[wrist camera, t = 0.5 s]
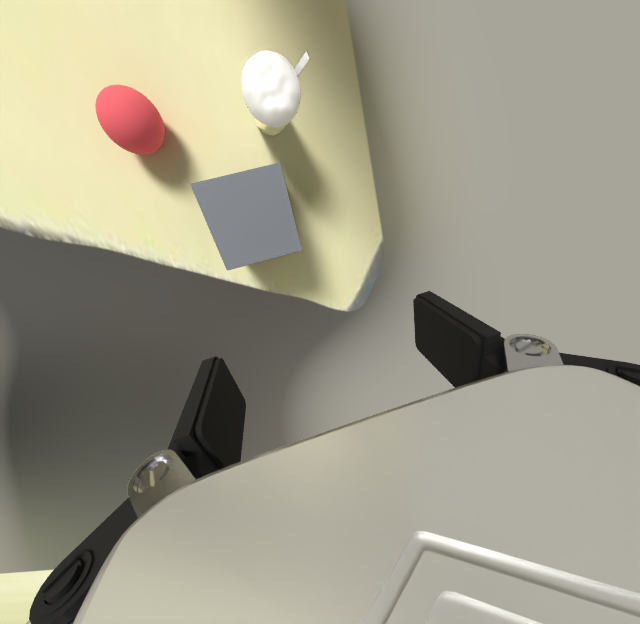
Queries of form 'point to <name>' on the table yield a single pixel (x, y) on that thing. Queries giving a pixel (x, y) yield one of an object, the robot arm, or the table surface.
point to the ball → (130, 119)
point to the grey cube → (249, 215)
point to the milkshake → (272, 89)
